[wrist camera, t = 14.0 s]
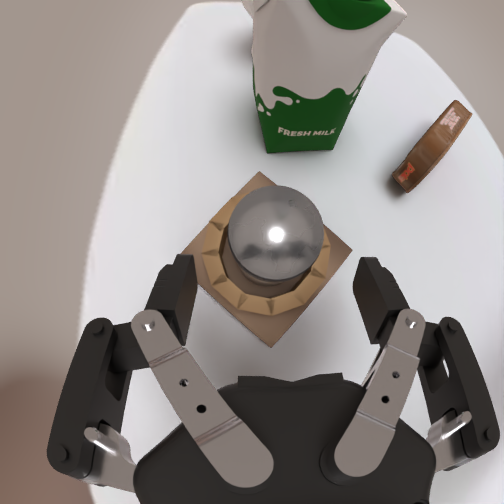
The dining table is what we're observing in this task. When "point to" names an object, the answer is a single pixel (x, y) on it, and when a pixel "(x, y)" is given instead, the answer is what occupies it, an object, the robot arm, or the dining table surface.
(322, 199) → the dining table surface
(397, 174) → the tin
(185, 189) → the dining table surface
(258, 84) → the milk carton
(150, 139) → the dining table surface
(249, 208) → the salt shaker
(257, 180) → the ring board
